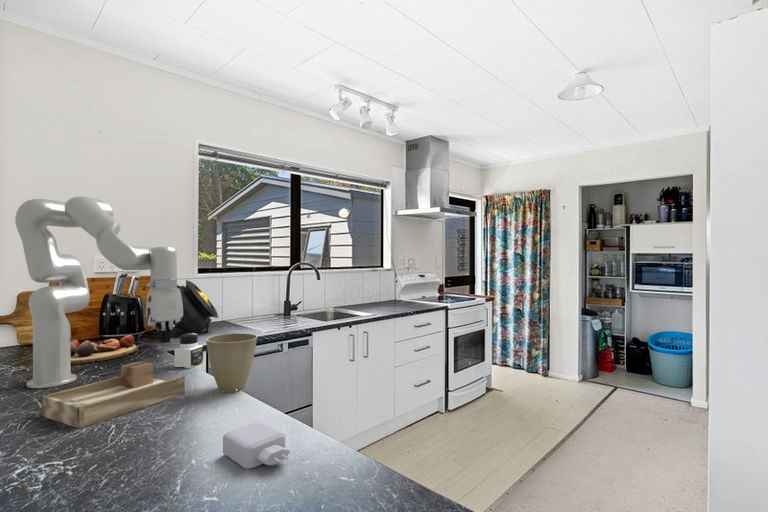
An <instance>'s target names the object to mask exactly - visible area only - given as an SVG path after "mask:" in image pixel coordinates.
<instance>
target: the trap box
mask: <svg viewBox="0 0 768 512" xmlns="http://www.w3.org/2000/svg"><path fill="white" fill-rule="evenodd" d="M185 378H186V377H185V376H178V377H176V378H172V379H169V380H162V379H158V378H154V377H153V383H151V384H148V385H144V386H141V387H137V388H134V389H132V388H128V387H124V386H121V375H120V376H115V377H113V378H109V379H105V380H100V381H96V382H93V383H89V384H84V385H81V386H77V387H73V388H69V389H65V390H61V391H57V392H54V393H49V394H46V395H41V416H42V417H44V418H47V419H51V420H53V421H55V422H56V421H57V422H58V423H61V424H64V425H66V426H70V427H73V428H76V429H83V428H87V427H88V426H92V425H95V424H98V423H101V422H104V421H107V420H110V419H113V418H115V417H118V416H122V415H124V414H127V413H130V412H134V411H136V410H139V409H143V408H145V407H148V406H151V405H154V404H157V403H160V402H162V401H166V400H169V399H172V398H175V397H178V396H181V395H183V394H185V393H186V389H185V387H186V381H185V380H186V379H185Z"/></svg>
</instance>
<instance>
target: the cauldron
mask: <svg viewBox="0 0 768 512" xmlns="http://www.w3.org/2000/svg"><path fill="white" fill-rule="evenodd" d="M177 289H180V292H181V296H182V303H183V317H182V318H181V321H179V322H177V323H175V324H174V325H173V332H171V336H173V337H174V338H177V334H178V333H179V332H180V331H182V332H185V333H186V332H188V333H189V332H190V333H191V332H192V333H195V332H196V333H197V332H200V331H202V330H205V333H208V331H209V328H210V324H211V322H212V319H211V318H215V319H219V314H218V311H217V309H216V308H215V306H214V305H213V304H212V302H211V301H210V299H209V298H208V297H207V295H205V293H204V292H203V291H202V290H201V289H200V288H199V287H198V286H197V285H196V284H195V283H193V282H192V281H190V280H187V279H186V280H185V285H181V286H180V285H178V284H177Z"/></svg>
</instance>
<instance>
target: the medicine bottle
mask: <svg viewBox="0 0 768 512" xmlns="http://www.w3.org/2000/svg"><path fill="white" fill-rule="evenodd" d="M198 341H199V335H198V333H195V332H192V333H191V332H190V333H189V332H188V333H184V334H182V335H180V337H179V343H180V344H179V346H178V347H176V348H174V368H175V367H185V368H184V369H193V367H194V368H195V367H198V366H200V365H203V364H204V346H203V345H201V344H200V345H199V342H198Z"/></svg>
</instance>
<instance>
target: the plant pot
mask: <svg viewBox="0 0 768 512" xmlns="http://www.w3.org/2000/svg"><path fill="white" fill-rule="evenodd" d="M257 341H258V335H256V334H252V333H245V332H244V333H243V332H242V333H241V332H240V333H239V332H235V333H222V334H216V335H211V336H209V337H207V338H206V339H205V342H206V350H207V355H208V360H209V365H210V368H211V372H212V375H213V378H214V382H215V383H216V386H217V389H218V391H219V390H220V391H219V392H221V391H224V392H223V393H234V391H236V389H237V390H238V391H236V392H239V391H242V390H243V389H244V388H245V386H246V383H247V381H248V378H249V376H250V373H251V368H252V366H253V363H254V357H255V355H256V354H255V353H256V349H257Z"/></svg>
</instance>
